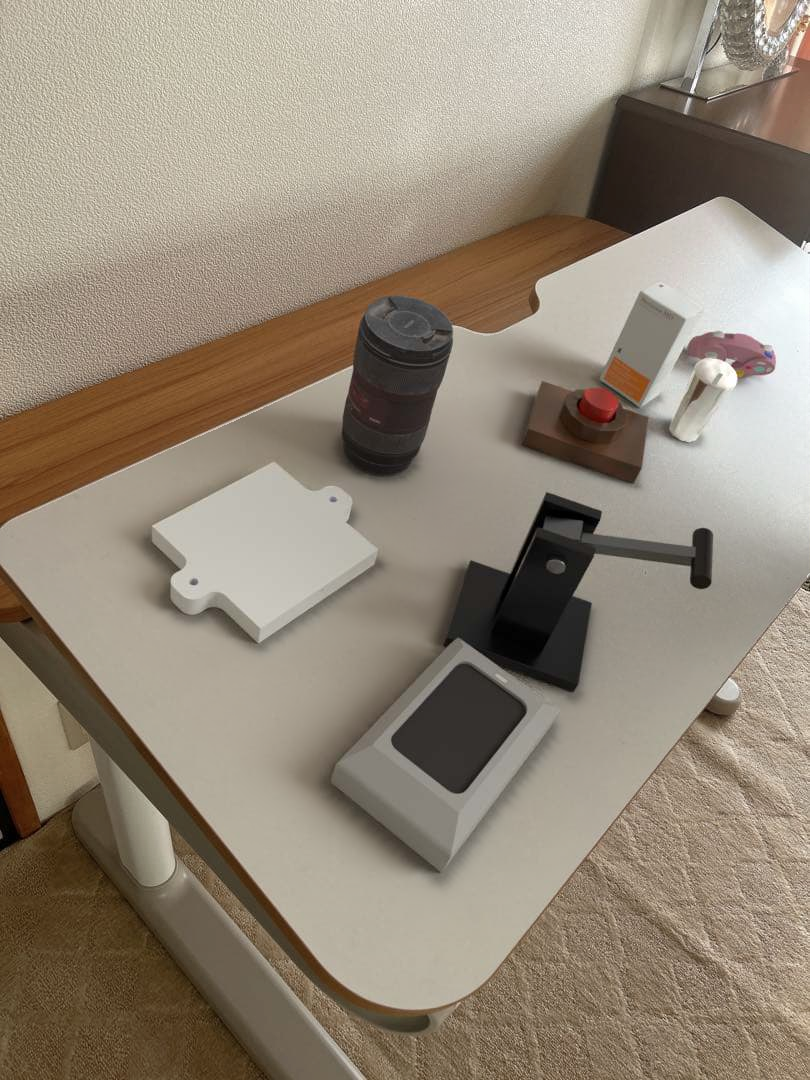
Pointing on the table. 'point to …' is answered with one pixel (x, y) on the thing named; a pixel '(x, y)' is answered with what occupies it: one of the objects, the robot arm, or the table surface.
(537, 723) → the card reader
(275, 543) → the mounting plate
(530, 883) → the table surface
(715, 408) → the milkshake
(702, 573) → the lever
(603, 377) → the cosmetic box
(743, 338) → the video game controller
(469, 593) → the bracket
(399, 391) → the camera lens
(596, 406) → the button
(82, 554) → the table surface
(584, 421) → the button block
